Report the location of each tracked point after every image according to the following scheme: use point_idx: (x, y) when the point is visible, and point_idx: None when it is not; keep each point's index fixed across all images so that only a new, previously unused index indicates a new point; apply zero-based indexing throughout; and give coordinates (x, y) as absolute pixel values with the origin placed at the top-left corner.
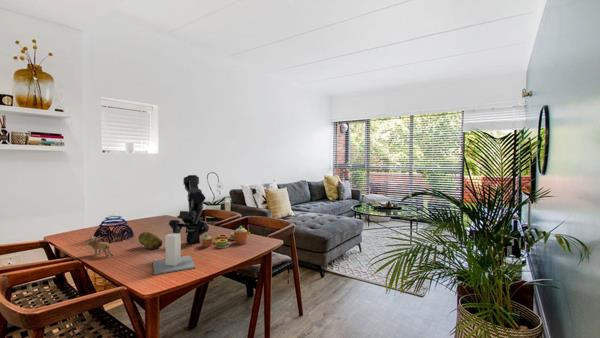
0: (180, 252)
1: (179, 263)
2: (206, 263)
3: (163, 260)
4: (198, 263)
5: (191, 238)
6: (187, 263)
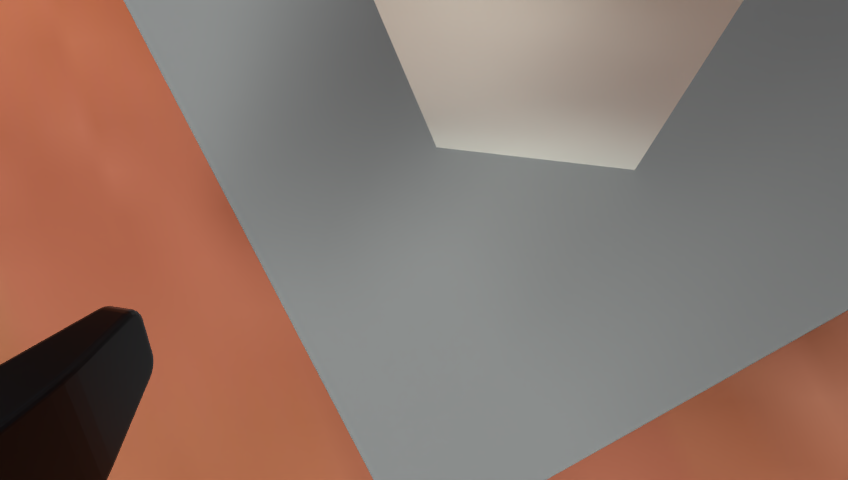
0: (411, 69)
1: None
2: (9, 213)
3: (844, 206)
4: (140, 202)
5: (52, 370)
6: (285, 88)
